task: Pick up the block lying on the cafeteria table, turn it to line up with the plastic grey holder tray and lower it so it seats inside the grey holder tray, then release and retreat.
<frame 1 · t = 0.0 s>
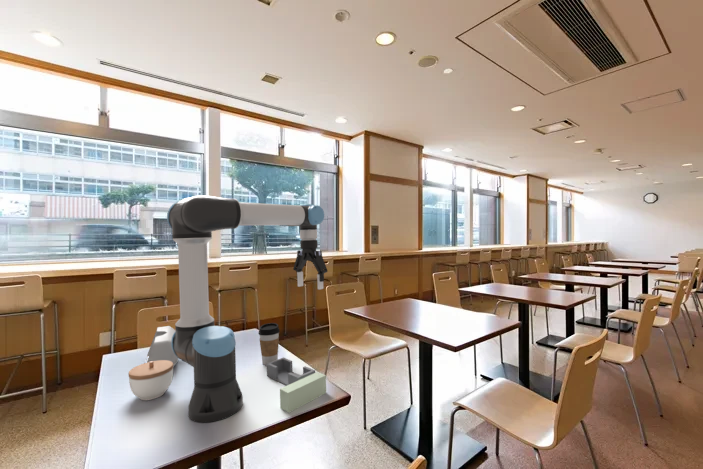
hand: (310, 287, 142), 28 cm above the table, fingers open, 13 cm apart
coffee cup: (270, 363, 131), on the table
lidded bowl: (152, 395, 107), on the table
grey holder tray: (290, 379, 115), on the table
tank: (166, 363, 135), on the table
block: (304, 400, 101), on the table
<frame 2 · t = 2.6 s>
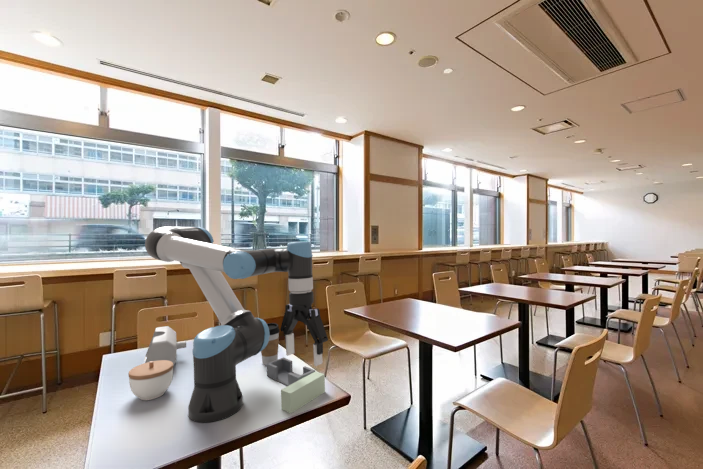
hand: (303, 359, 100), 13 cm above the table, fingers open, 13 cm apart
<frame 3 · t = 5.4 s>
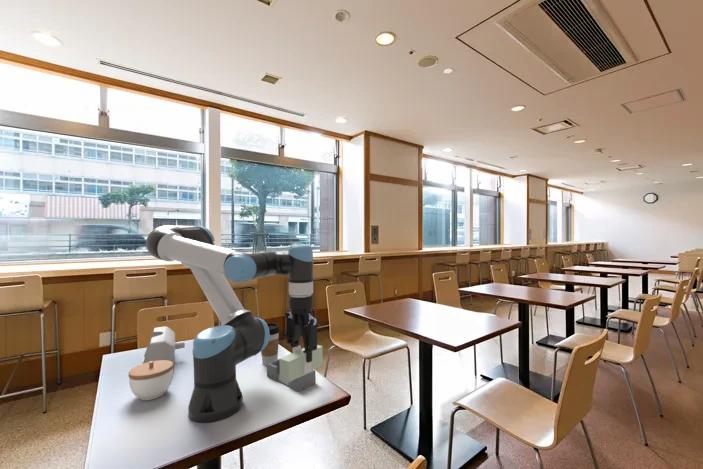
hand: (301, 369, 101), 10 cm above the table, fingers closed on block, 4 cm apart
block: (302, 371, 101), point 9 cm above the table, touching gripper
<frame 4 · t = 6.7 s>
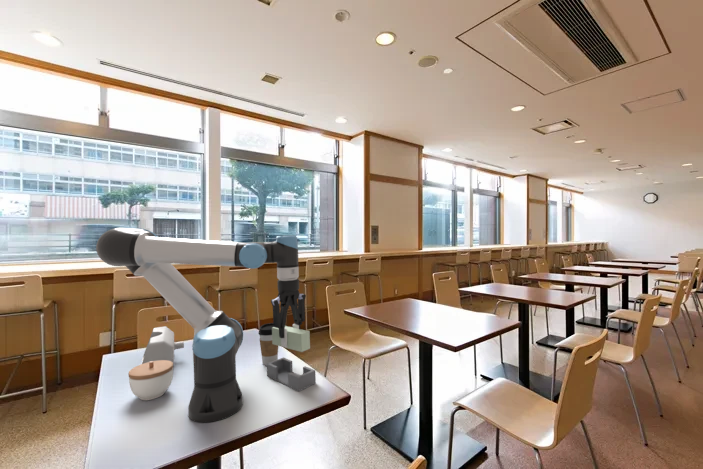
hand: (290, 344, 115), 13 cm above the table, fingers closed on block, 4 cm apart
block: (290, 346, 114), point 12 cm above the table, touching gripper
when the fingers open (1 cm above the table, at t = 8.5 s): block stays where it is, resting on grey holder tray.
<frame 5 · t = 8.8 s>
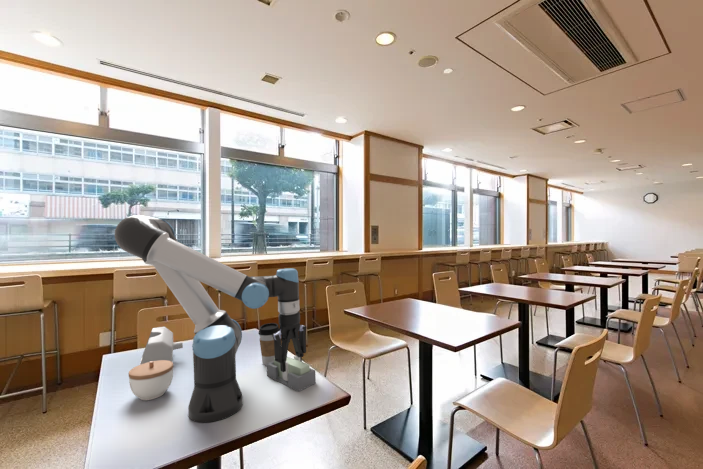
hand: (291, 377, 115), 1 cm above the table, fingers open, 5 cm apart
block: (291, 378, 115), resting on grey holder tray
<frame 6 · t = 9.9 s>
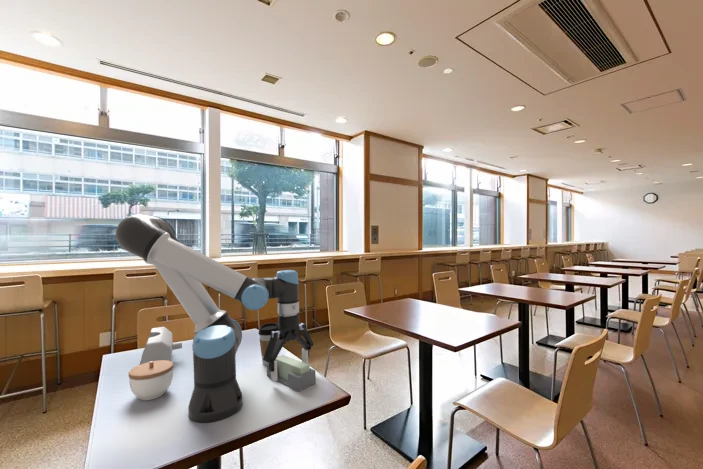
hand: (290, 373, 115), 2 cm above the table, fingers open, 13 cm apart
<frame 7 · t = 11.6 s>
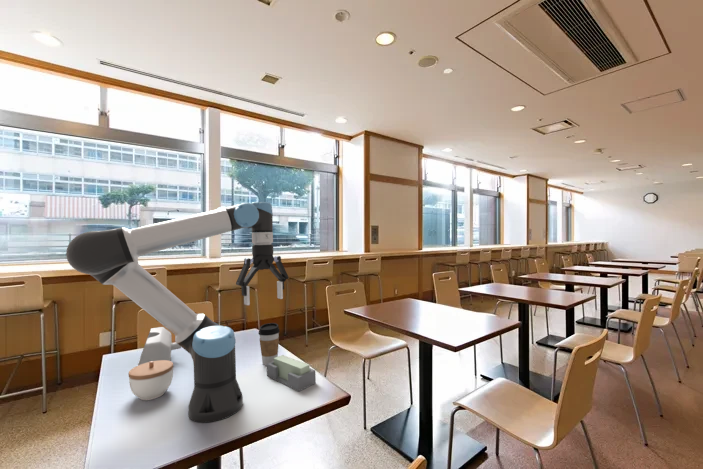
hand: (264, 301, 119), 27 cm above the table, fingers open, 13 cm apart
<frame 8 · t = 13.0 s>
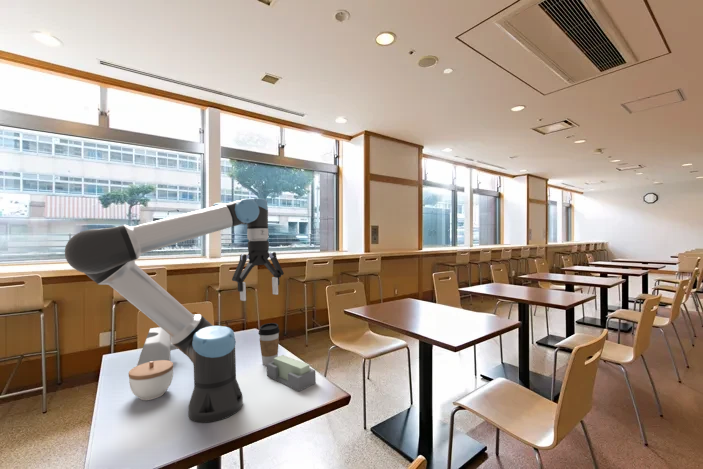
hand: (259, 297, 120), 29 cm above the table, fingers open, 13 cm apart
at the end: block 0.4 cm off-centre on the grey holder tray, point 0.5 cm above the grey holder tray's base; block tilted 0°; the gripper is holding nothing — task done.
